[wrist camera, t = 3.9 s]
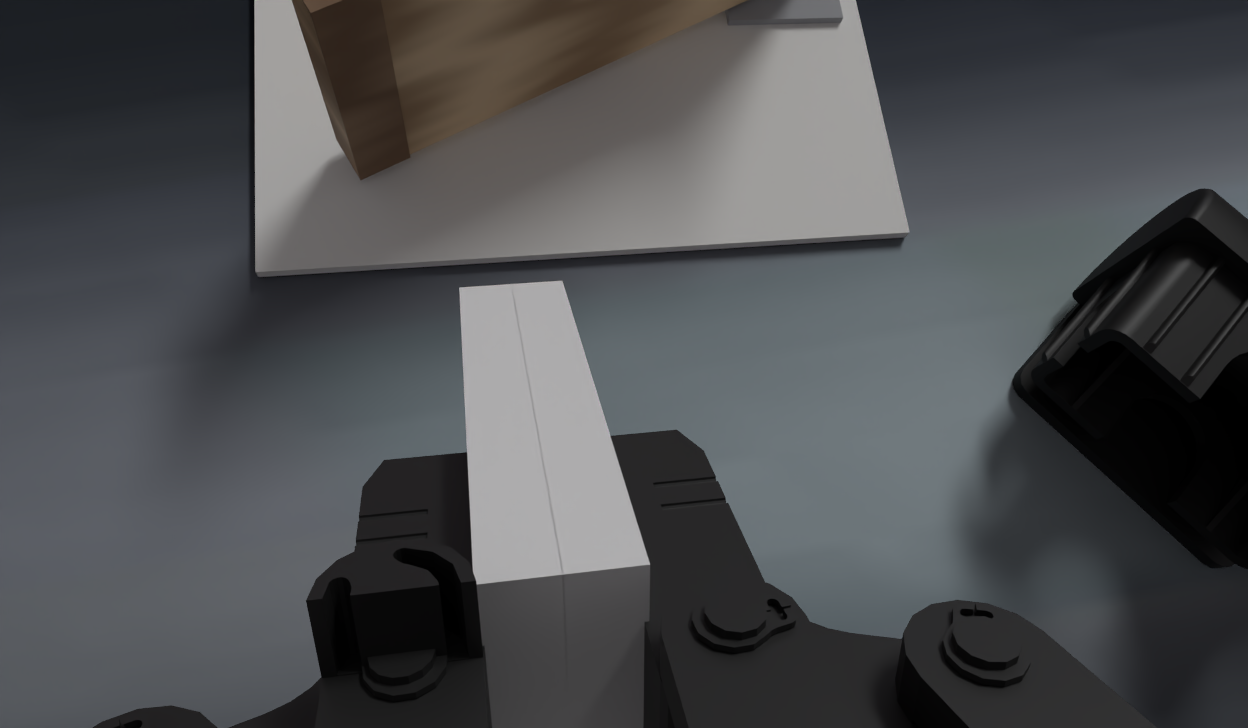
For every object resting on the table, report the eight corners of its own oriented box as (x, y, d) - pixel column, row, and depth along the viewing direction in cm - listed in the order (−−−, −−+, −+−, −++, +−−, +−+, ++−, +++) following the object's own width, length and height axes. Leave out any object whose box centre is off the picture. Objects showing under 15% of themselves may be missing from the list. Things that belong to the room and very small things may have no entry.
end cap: (1327, 440, 33) (1525, 385, 26) (1226, 587, 31) (1414, 565, 24) (1105, 248, 34) (1242, 151, 28) (993, 375, 32) (1113, 302, 26)
